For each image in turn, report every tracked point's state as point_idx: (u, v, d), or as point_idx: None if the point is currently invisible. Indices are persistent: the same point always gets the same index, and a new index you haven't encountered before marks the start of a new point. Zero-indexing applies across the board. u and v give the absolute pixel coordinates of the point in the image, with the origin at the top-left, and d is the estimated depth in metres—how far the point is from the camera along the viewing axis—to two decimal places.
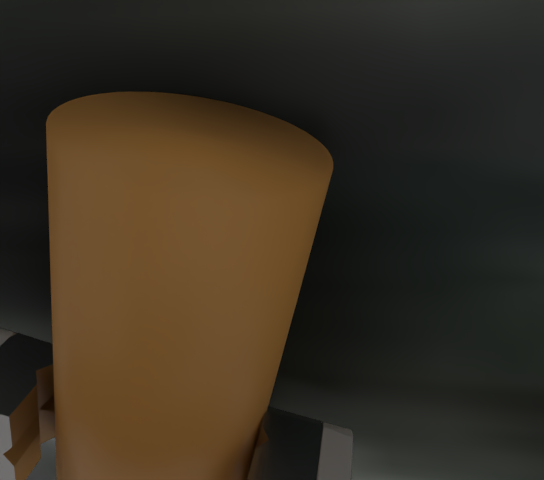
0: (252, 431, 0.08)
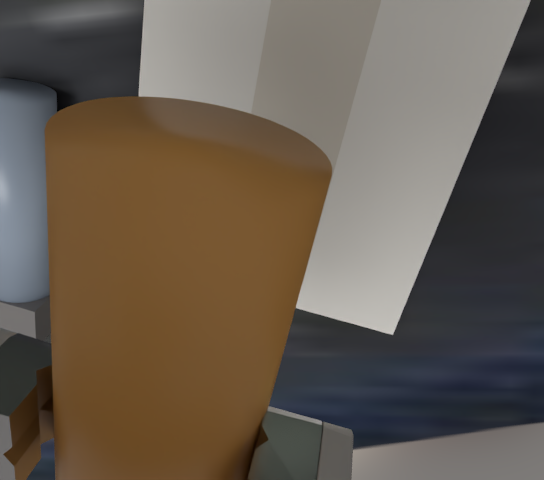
0: (251, 436, 0.08)
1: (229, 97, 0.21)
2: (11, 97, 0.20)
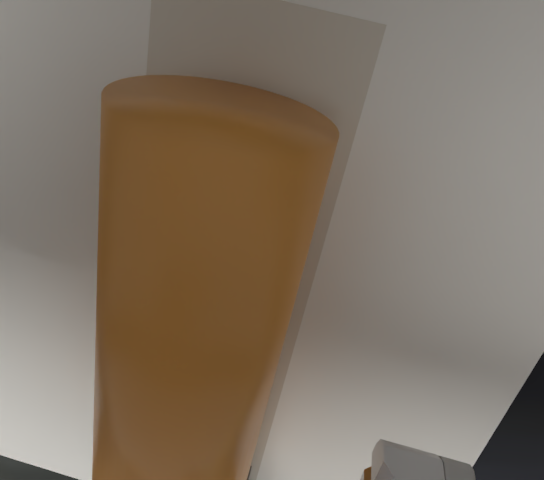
0: (268, 370, 0.09)
1: (92, 212, 0.11)
2: None
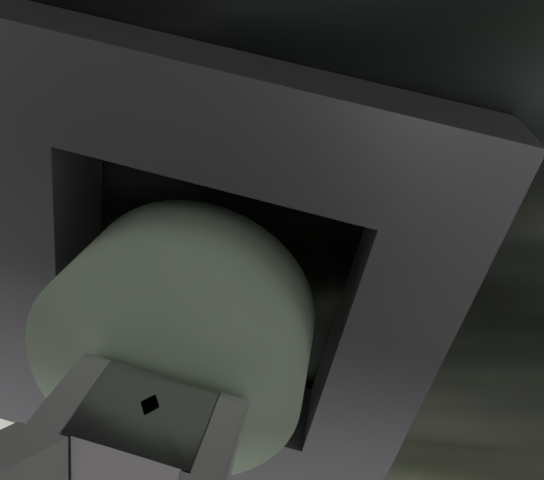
0: None
1: None
2: None
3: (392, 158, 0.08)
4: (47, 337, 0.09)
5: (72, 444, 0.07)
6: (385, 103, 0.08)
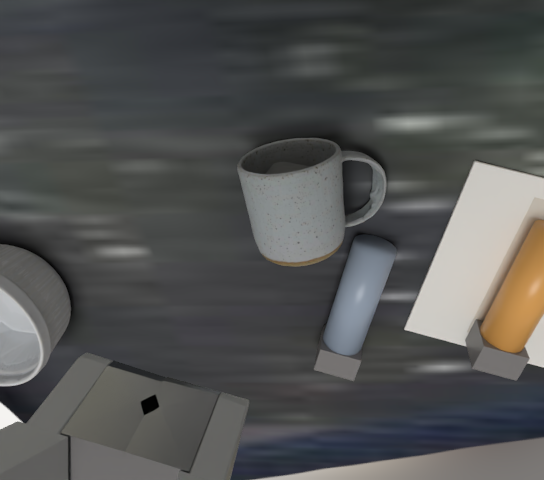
0: None
1: (493, 250, 0.39)
2: (381, 252, 0.39)
3: None
4: None
5: (72, 444, 0.07)
6: None
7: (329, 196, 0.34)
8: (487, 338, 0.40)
